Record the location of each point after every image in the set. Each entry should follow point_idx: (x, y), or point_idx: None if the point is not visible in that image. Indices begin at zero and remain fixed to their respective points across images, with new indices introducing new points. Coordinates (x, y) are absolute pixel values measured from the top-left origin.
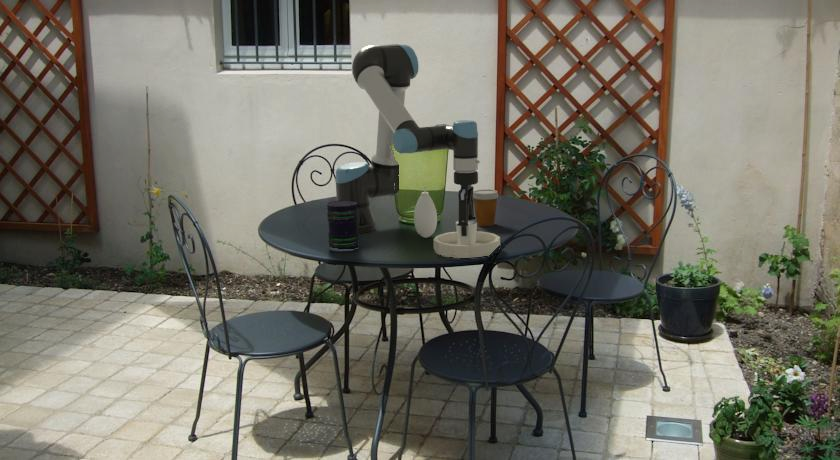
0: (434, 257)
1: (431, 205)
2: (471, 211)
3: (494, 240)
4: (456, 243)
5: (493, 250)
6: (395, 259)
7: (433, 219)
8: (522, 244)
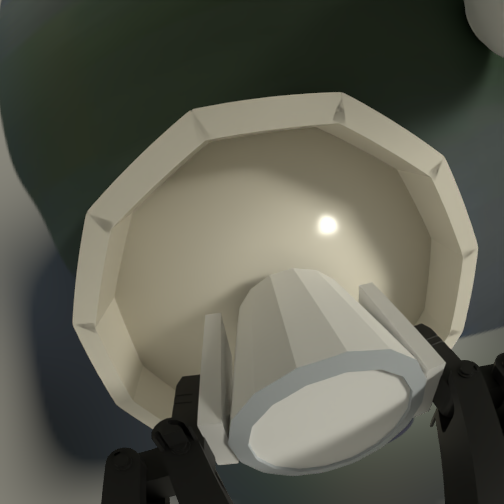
0: (78, 186)
1: None
2: (444, 473)
3: None
4: (372, 216)
5: None
6: (12, 35)
7: None
8: None
